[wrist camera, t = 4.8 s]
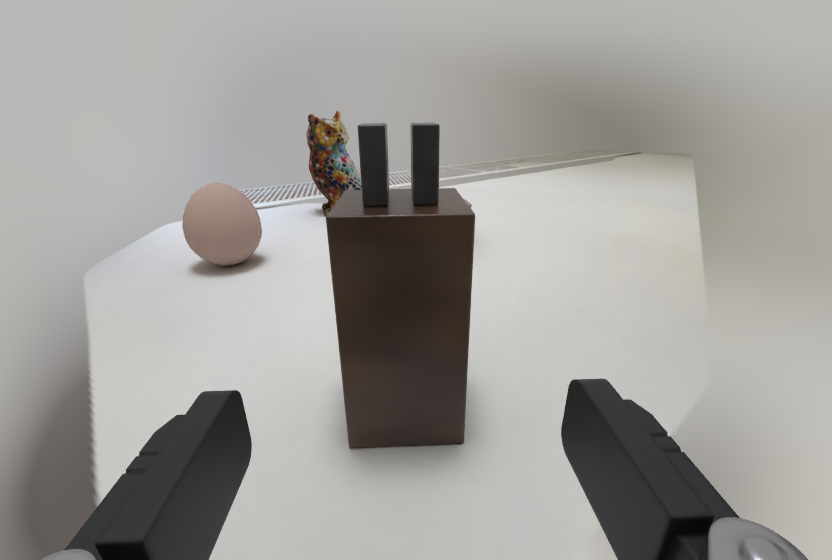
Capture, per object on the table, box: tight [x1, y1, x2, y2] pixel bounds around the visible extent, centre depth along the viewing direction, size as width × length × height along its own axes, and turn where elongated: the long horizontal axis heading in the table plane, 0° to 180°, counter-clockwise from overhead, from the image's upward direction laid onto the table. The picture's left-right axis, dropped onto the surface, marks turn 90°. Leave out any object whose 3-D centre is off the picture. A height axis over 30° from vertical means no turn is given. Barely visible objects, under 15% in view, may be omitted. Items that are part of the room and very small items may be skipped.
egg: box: [183, 183, 262, 265], centre depth 40 cm, size 7×7×8 cm
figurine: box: [307, 111, 362, 216], centre depth 60 cm, size 9×9×15 cm
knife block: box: [326, 123, 475, 448], centre depth 18 cm, size 5×5×14 cm
